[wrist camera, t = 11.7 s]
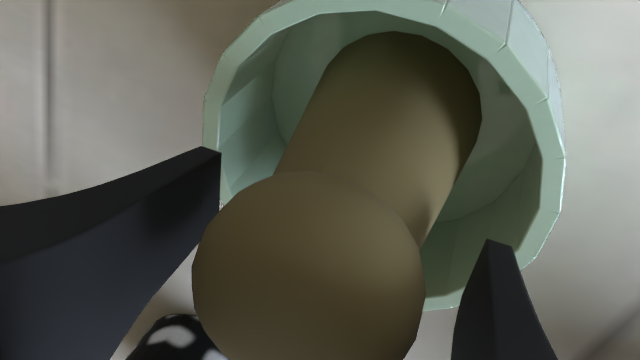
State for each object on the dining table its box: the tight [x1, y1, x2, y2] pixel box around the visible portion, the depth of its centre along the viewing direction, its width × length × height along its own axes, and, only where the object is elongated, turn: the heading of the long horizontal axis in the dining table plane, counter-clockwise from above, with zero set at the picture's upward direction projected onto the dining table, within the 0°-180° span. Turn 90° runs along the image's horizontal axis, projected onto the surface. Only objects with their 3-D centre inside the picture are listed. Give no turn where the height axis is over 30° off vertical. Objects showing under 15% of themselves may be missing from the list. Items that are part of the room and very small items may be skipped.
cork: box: [192, 31, 482, 360], centre depth 15 cm, size 6×6×11 cm
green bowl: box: [202, 0, 566, 311], centre depth 18 cm, size 11×11×5 cm
